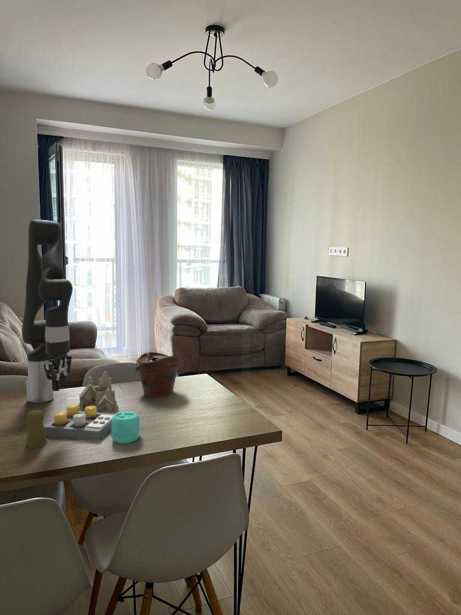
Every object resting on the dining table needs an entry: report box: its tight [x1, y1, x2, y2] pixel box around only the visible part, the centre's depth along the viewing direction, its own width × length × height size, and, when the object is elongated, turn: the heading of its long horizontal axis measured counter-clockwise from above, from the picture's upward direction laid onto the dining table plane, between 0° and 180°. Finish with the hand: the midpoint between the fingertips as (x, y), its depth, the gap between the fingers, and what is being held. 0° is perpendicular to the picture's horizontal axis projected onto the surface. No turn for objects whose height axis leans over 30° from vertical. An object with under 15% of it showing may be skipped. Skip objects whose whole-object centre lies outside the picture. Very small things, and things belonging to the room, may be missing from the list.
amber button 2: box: [66, 404, 79, 416], centre depth 161 cm, size 4×4×3 cm
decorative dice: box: [110, 410, 140, 444], centre depth 149 cm, size 8×8×8 cm
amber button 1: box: [53, 411, 67, 425], centre depth 154 cm, size 4×4×3 cm
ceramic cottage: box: [77, 370, 120, 414], centre depth 174 cm, size 16×16×15 cm
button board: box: [43, 411, 115, 441], centre depth 157 cm, size 20×16×4 cm
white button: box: [73, 414, 86, 426], centre depth 152 cm, size 4×4×3 cm
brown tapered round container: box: [134, 351, 181, 398], centre depth 197 cm, size 18×20×18 cm
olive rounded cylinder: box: [25, 409, 47, 449], centre depth 144 cm, size 6×6×11 cm
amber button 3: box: [85, 406, 97, 418], centre depth 160 cm, size 4×4×3 cm
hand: (59, 388), depth 152 cm, fingers open, 3 cm apart
